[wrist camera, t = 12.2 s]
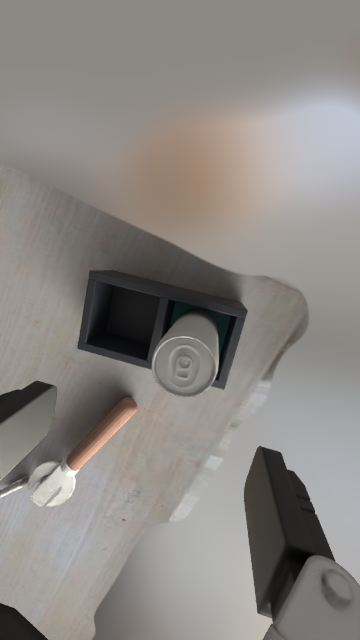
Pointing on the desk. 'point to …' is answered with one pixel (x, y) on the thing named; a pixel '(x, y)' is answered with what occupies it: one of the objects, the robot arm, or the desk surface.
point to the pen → (14, 486)
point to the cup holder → (150, 318)
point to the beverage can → (187, 355)
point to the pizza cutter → (77, 457)
